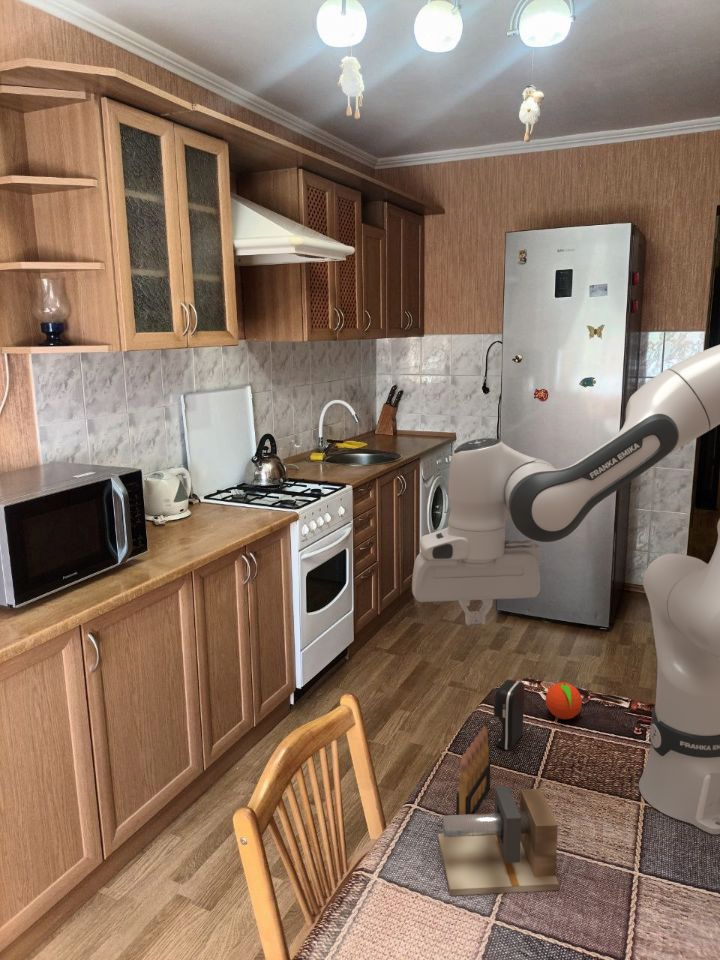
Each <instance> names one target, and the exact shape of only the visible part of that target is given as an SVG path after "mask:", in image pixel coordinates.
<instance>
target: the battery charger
mask: <svg viewBox="0 0 720 960" xmlns="http://www.w3.org/2000/svg"><path fill="white" fill-rule="evenodd" d="M524 705H525V685H524V683H523V682H521V681H520V680H514V679H513V680H512V679H506V680H504V682H502V684H501V685H500V686H499V687H498V688H497V690H496V691H495V694H494V700H493V716H494V717H496V718H499V721H500V723H501V725H502V729H501V731H502V733H501V735H500V736H499V737H498V739H497V740H496V745H497V746H498V747H499V748H501V749H503V750H506V751H512V750H513V748H514V747H515V745H516V744H517V743H518V741H519V739H521V737H522V735H523V733H524V732H523V731H524V729H523V728H524V711H525V710H524V708H525V706H524Z"/></svg>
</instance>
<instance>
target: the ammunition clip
mask: <svg viewBox="0 0 720 960" xmlns="http://www.w3.org/2000/svg"><path fill="white" fill-rule="evenodd" d="M488 736H489V735H488V730H487V727H486V725H483V727H482V729H481V730H479V731H478V734H477V735H476V736H475V737H474V739H473V741H471V742H470V744H469V745H470V746H468V747H467V748H466V751H465V752H463V754H462V756H461V759H460V769H459V776H458V791H457V793H456V805H455V806H456V809H455V810H456V813H455V815H467V814H477V811H478V810H479V808H480V807H481V806H482V803H483V802H484V800H485V798H486V797H487V795H488V794H489V792H490V790H491V762H490V751H489V750H490V748H489V741H488V740H489V738H488Z"/></svg>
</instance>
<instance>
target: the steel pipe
mask: <svg viewBox="0 0 720 960" xmlns="http://www.w3.org/2000/svg"><path fill="white" fill-rule="evenodd" d="M519 813H520V816H521V834H529V833H530V820H529V816H528V813H527V812H520V811H519ZM442 832H443V833H442V834H444V837H466V836H487V835H504V820H503V817H502V814H501V813H494V812H491V813H475V814H467V815H456V814H452V815H451V814H450V815H442Z"/></svg>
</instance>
